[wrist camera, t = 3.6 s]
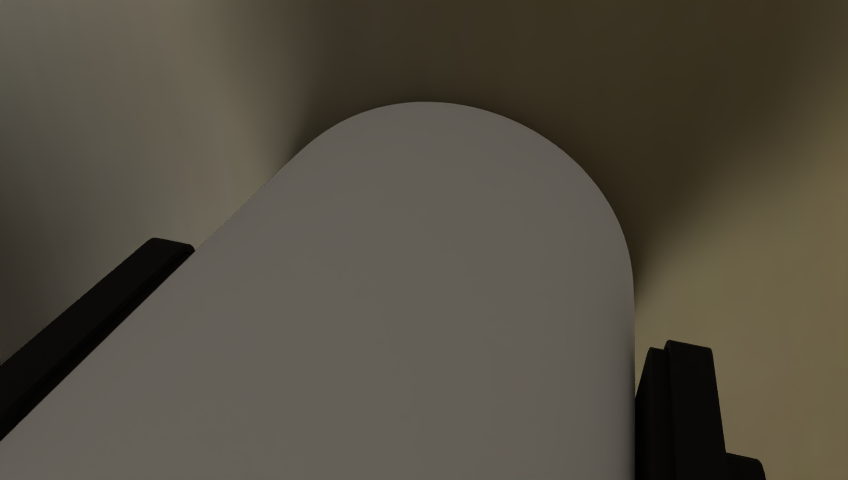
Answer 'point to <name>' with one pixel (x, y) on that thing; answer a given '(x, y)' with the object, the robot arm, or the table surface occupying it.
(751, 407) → the table surface
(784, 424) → the table surface
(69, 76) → the table surface
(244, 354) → the can
